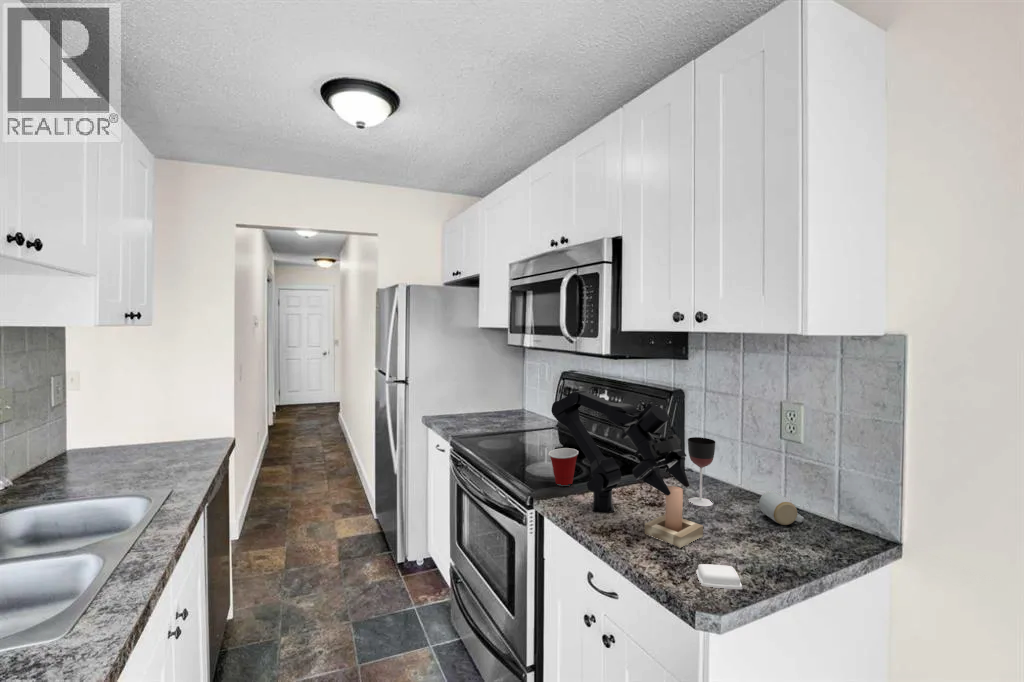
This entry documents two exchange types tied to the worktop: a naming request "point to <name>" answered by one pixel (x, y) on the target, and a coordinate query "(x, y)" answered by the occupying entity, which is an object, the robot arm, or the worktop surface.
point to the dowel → (674, 509)
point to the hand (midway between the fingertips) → (679, 490)
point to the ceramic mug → (779, 508)
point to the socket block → (680, 538)
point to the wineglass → (701, 461)
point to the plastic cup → (563, 464)
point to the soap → (718, 576)
